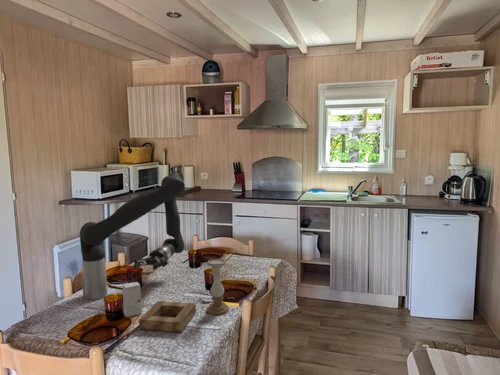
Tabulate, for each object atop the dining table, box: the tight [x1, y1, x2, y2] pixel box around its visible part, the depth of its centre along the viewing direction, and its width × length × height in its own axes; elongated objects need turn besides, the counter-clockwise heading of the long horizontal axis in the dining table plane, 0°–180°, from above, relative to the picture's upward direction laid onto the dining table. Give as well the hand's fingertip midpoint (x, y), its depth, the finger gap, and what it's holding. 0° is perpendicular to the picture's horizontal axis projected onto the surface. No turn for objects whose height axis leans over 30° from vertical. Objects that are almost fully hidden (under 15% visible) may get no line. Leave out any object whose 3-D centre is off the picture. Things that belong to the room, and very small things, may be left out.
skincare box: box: [122, 281, 142, 318], centre depth 147 cm, size 6×4×12 cm
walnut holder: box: [138, 300, 197, 334], centre depth 140 cm, size 16×16×4 cm
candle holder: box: [206, 258, 230, 316], centre depth 148 cm, size 9×9×20 cm
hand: (144, 267), depth 157 cm, fingers open, 8 cm apart
